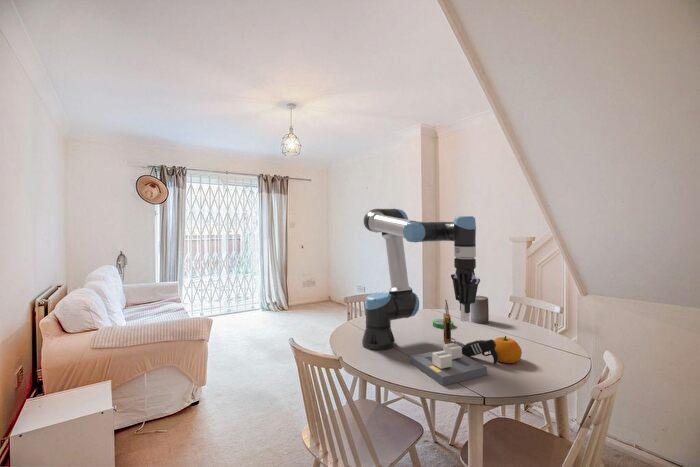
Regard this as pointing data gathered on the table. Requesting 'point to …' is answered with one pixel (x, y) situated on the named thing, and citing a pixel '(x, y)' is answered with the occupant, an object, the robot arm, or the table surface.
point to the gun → (480, 348)
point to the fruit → (507, 350)
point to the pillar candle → (480, 310)
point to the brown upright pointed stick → (448, 327)
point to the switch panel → (449, 368)
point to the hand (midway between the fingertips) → (465, 320)
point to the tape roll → (441, 323)
